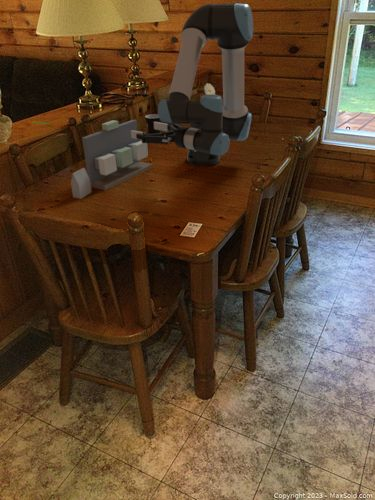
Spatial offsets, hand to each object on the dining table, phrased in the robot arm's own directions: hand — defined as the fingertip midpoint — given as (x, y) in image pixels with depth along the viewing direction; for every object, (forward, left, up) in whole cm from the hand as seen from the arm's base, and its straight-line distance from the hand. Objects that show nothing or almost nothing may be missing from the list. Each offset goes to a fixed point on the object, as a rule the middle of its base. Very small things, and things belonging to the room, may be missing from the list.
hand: (143, 129), depth 166 cm
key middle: (+13, -5, -16) cm, 22 cm away
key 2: (+10, -14, -16) cm, 24 cm away
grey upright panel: (+16, -6, -22) cm, 28 cm away
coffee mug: (+18, -66, -22) cm, 72 cm away
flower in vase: (-7, -76, -22) cm, 79 cm away
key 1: (+17, +5, -16) cm, 24 cm away
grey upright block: (+21, +16, -22) cm, 35 cm away
